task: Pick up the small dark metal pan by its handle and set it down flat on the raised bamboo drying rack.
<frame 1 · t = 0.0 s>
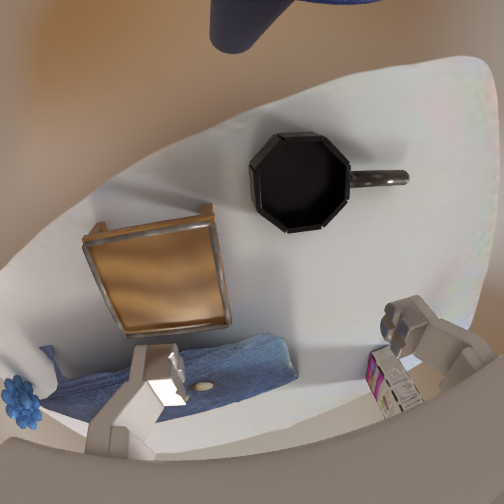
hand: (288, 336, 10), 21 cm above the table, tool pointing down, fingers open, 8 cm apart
pan: (296, 177, 29), on the table
grapes: (30, 381, 42), on the table
blue piece: (162, 374, 44), on the table
candy bar box: (377, 361, 52), on the table
rack: (164, 265, 32), on the table
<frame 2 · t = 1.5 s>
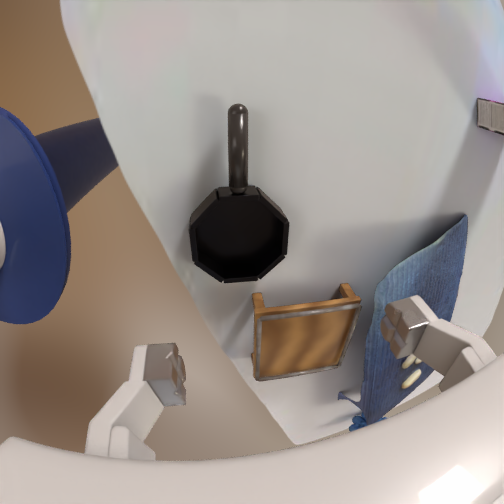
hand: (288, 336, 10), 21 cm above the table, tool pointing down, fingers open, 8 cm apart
pan: (237, 229, 31), on the table
grapes: (363, 409, 65), on the table
blue piece: (401, 328, 47), on the table
candy bar box: (492, 114, 27), on the table
rack: (297, 324, 40), on the table
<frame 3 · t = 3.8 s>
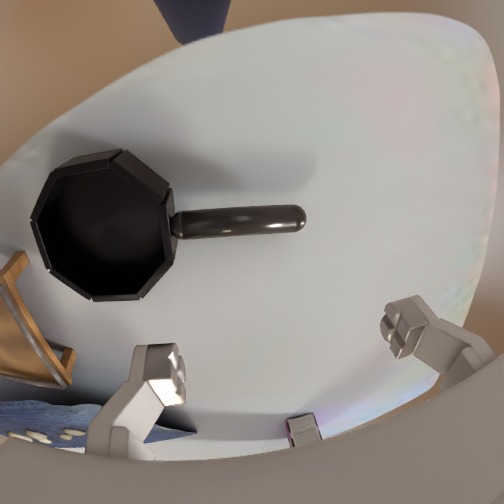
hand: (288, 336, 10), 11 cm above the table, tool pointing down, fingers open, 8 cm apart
pan: (109, 220, 18), on the table
blue piece: (54, 407, 32), on the table
candy bar box: (299, 425, 42), on the table
rack: (8, 309, 21), on the table
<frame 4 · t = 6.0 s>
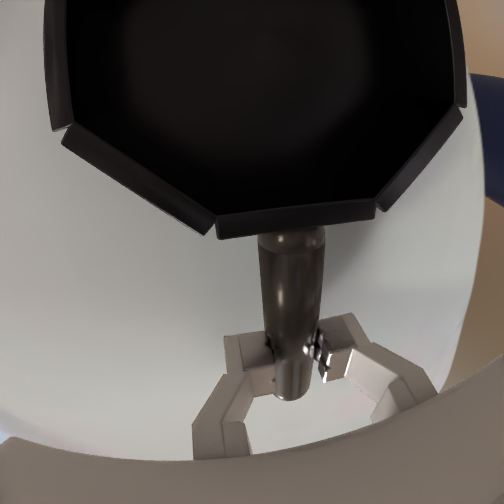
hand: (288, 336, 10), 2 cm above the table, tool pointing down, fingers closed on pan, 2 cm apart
pan: (262, 32, 6), on the table, touching gripper
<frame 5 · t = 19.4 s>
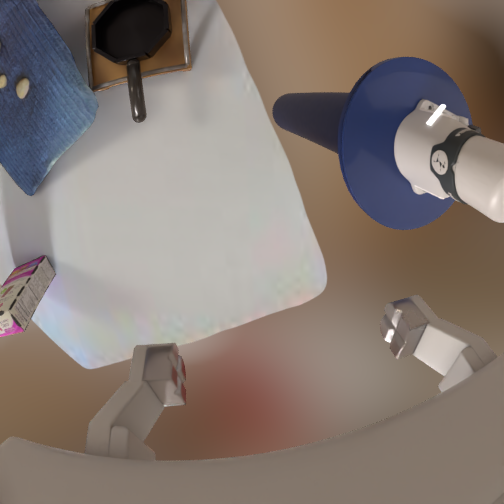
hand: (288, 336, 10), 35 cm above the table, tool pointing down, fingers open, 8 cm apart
pan: (134, 30, 25), point 4 cm above the table, touching rack
blue piece: (14, 64, 24), on the table
candy bar box: (35, 270, 44), on the table
rack: (141, 38, 28), on the table
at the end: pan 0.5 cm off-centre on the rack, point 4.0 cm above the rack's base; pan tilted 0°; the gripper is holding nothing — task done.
